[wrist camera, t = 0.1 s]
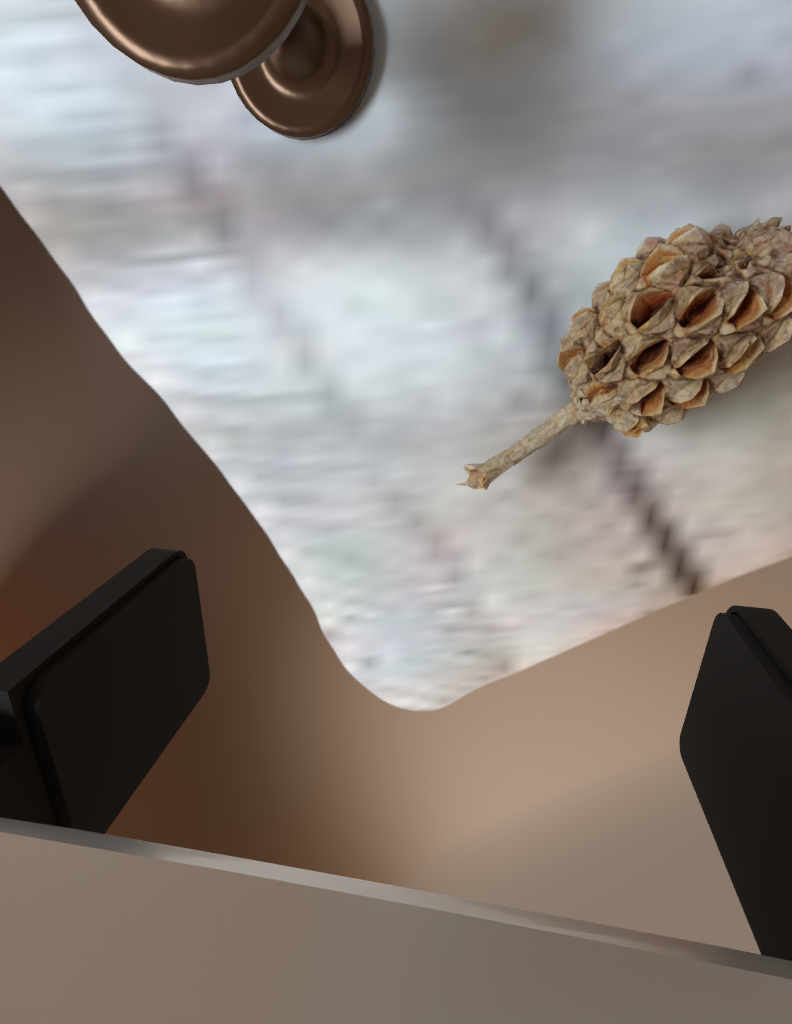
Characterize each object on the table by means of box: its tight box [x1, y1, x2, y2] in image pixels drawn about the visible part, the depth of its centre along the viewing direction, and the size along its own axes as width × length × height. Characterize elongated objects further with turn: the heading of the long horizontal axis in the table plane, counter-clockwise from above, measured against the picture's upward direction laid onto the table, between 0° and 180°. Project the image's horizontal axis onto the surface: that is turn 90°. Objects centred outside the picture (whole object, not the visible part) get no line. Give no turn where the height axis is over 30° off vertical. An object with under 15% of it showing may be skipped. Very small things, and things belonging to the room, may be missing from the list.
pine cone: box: [455, 217, 792, 490], centre depth 32 cm, size 22×10×10 cm, turn 137°
